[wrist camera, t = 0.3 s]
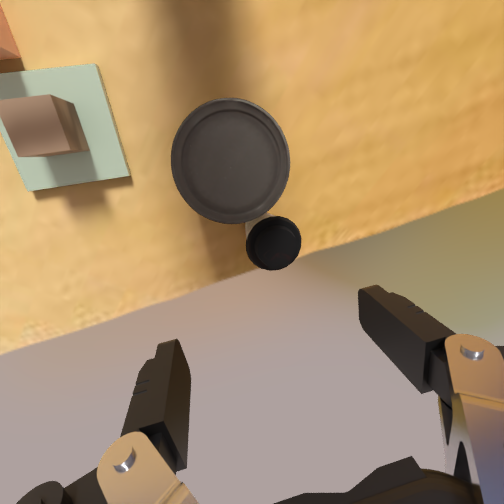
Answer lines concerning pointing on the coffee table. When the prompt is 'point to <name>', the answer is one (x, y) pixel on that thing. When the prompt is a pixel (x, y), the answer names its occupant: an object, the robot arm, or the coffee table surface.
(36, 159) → the baseplate
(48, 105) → the walnut block
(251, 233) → the coffee cup
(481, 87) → the coffee table surface
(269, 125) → the coffee can
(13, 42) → the terracotta block
